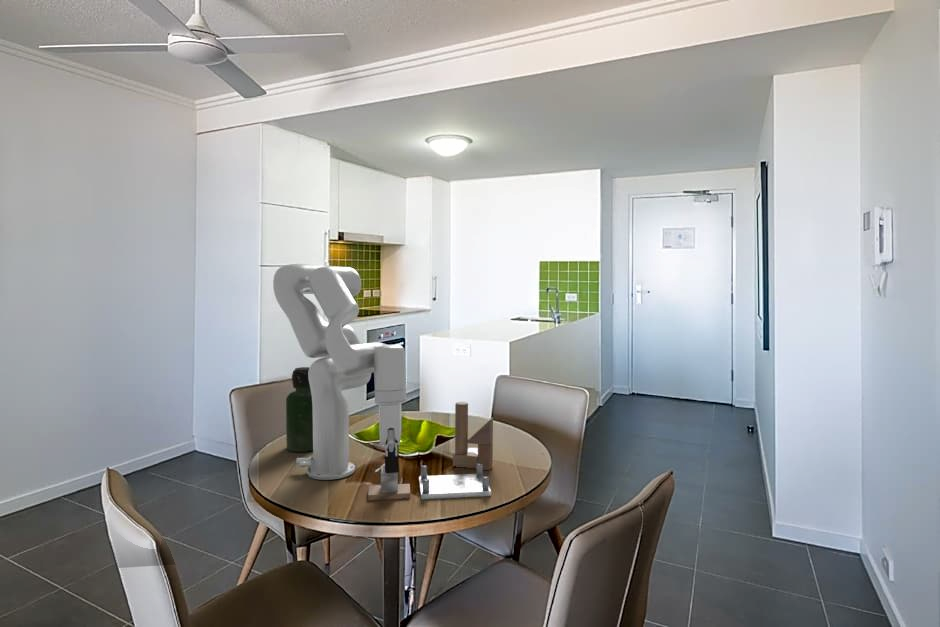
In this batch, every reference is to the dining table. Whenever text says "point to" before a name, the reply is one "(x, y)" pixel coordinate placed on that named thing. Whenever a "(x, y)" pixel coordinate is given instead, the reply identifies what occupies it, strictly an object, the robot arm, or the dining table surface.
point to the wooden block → (472, 441)
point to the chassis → (454, 485)
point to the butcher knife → (473, 450)
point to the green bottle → (299, 413)
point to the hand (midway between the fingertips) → (392, 465)
